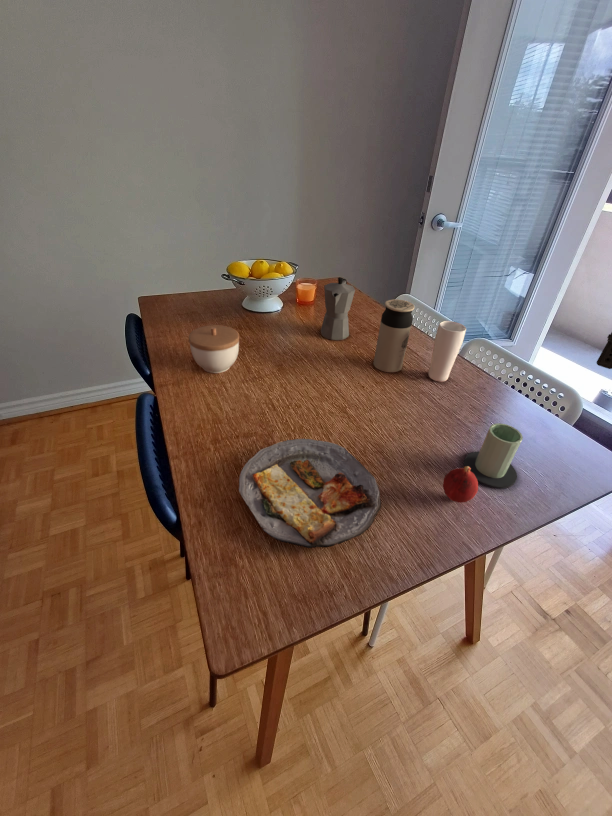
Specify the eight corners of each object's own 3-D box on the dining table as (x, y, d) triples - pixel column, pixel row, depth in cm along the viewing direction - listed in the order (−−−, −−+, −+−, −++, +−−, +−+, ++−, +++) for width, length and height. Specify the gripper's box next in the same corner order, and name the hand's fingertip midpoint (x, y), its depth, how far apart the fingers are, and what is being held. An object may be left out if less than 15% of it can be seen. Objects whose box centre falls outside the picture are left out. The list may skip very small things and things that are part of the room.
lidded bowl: (245, 375, 103) (243, 336, 97) (195, 381, 99) (190, 341, 93) (235, 352, 113) (233, 316, 106) (189, 358, 109) (184, 320, 102)
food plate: (404, 515, 69) (409, 502, 67) (289, 580, 58) (290, 566, 56) (322, 434, 85) (324, 421, 83) (221, 473, 75) (219, 459, 72)
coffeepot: (345, 345, 120) (352, 286, 110) (315, 340, 122) (319, 282, 112) (353, 325, 133) (361, 271, 122) (326, 321, 134) (331, 267, 124)
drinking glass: (453, 384, 105) (470, 332, 97) (428, 383, 105) (443, 331, 96) (446, 371, 111) (462, 321, 102) (422, 370, 111) (435, 319, 102)
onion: (470, 516, 70) (485, 484, 65) (437, 506, 71) (448, 474, 66) (471, 492, 74) (485, 461, 69) (439, 483, 76) (451, 452, 71)
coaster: (498, 451, 84) (499, 449, 84) (526, 486, 76) (527, 484, 76) (454, 454, 83) (455, 453, 82) (479, 490, 75) (480, 489, 74)
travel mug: (367, 364, 112) (377, 302, 101) (385, 356, 116) (397, 296, 106) (389, 376, 107) (402, 313, 97) (407, 367, 112) (422, 306, 101)
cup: (495, 456, 82) (510, 422, 77) (511, 477, 77) (529, 442, 72) (469, 458, 81) (483, 424, 76) (484, 479, 76) (500, 444, 71)
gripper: (709, 261, 44) (631, 383, 54) (711, 242, 53) (644, 350, 63) (630, 246, 48) (571, 363, 58) (645, 231, 57) (591, 335, 67)
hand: (609, 356), depth 60 cm, fingers open, 8 cm apart
